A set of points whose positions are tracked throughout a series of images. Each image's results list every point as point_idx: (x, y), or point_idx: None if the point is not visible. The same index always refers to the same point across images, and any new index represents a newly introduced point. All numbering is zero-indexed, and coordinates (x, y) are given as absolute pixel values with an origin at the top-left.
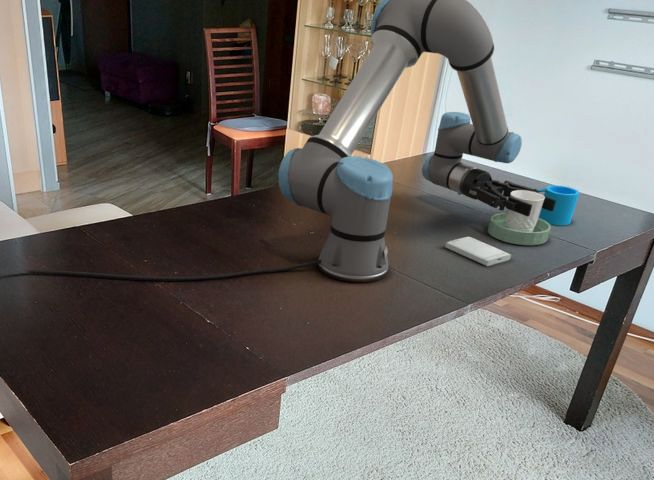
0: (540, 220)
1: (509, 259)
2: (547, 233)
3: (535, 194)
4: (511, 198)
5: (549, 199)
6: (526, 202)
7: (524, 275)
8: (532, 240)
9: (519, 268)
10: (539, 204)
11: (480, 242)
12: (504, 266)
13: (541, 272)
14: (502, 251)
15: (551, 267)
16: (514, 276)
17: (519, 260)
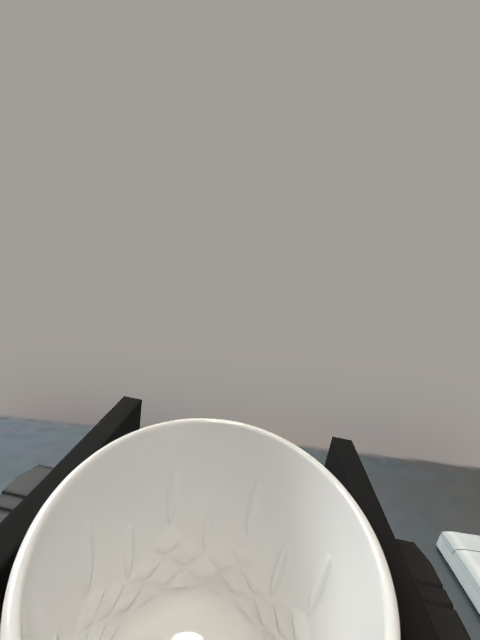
0: None
1: (439, 545)
2: None
3: (59, 517)
4: (428, 614)
5: (126, 421)
6: (320, 483)
7: (430, 473)
8: None
9: (426, 497)
10: (230, 447)
11: None
12: (476, 531)
13: (373, 457)
14: (477, 564)
15: (327, 454)
16: (463, 484)
17: (396, 525)
